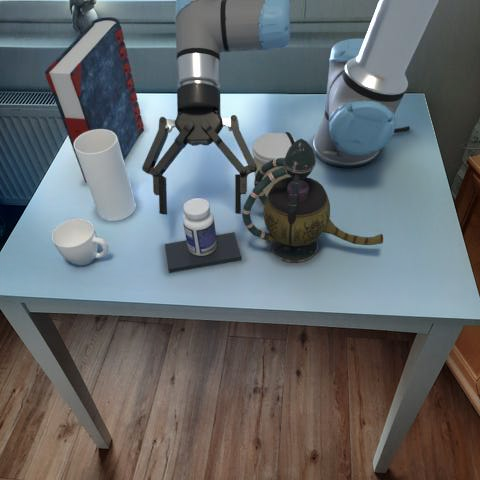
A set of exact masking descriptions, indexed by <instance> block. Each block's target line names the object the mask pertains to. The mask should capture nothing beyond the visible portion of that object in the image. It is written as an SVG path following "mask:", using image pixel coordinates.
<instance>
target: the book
mask: <svg viewBox="0 0 480 480" xmlns="http://www.w3.org/2000/svg"><path fill="white" fill-rule="evenodd" d="M124 40H125V37H124V32H123V29H122V25H121V24H120V20H119V19H118V18H116V17H112V16H107V17H105V16H104V17H100V18H96V19H94V20H92V21H91V23H90V24H89V25H88V26H87V27H86V28H85V29H84V30H83V31H82V33H81V34H79V36H78V37H77V38H76V39H74V41H73V42H72V43H71V44H70V45H69V46H68V47H67V48H66V49H65V50H64V51H63V52H62V53H61V54H60V55H59V56H58V58H56V59H55V60H54V61H53V62H52V63H51V64H50V65H49V66H48V68H47V69H45V71H44V73H45V78H46V81H47V83H48V85H49V88H50V91H51V93H52V95H53V98H54V101H55V103H56V106H57V109H58V111H59V115H60V117H61V120H62V123H63V125H64V128H65V130H66V133H67V136H68V139H69V141H70V144H71V147H72V151H73V153H74V156H75V158H76V160H77V163H78V166H79V169H80V173H81V174H82V177H83V180H84V182H85V184H87V182H86V179H85V176H84V173H83V171H82V168H81V165H80V163H79V160H78V157H77V154H76V152H75V149H74V141H75V139H76V138H77V137H78V136H80V135H81V134H83V133H85V132H87V131H90V130H95V129H106V130H110V131H112V132H114V133H115V134H116V136H117V138H118V142H119V145H120V149H121V152H122V156H123V160H124V161H125V160H126V159H127V157H128V155H129V153H130V152H131V150H132V149H133V147H134V145H135V144H136V142H137V140H138V139H139V138H140V136H141V134H142V133H143V132H144V131H145V129H144V123H143V118H142V114H141V109H140V104H139V102H138V95H137V90H136V88H135V82H134V81H135V80H134V78H133V74H132V68H131V63H130V59H129V58H128V57H129V55H128V50H127V46H126V43H125V41H124Z"/></svg>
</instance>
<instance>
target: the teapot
mask: <svg viewBox="0 0 480 480" xmlns="http://www.w3.org/2000/svg"><path fill="white" fill-rule="evenodd" d="M284 134H286V135H287V136H288V138H289V140H290V142H291V146H290V148H289V150H288V151H287V154H286V157H285V158H277V159H273V160H271V161H269V162H267V163H265V164H264V165H263V166H262V167H261V168H260V169H259V171H258V172H257V174H256V176H255V175H254V181H253V183H254V184H253V185H254V187H253V189H252V190H251V192H250V193H249V195H248V196H247V198H246V200H245V202H244V203H243V207H242V211H241V217H242V220H243V223H244V225H245V227H246V228H247V231H249V232H250V234H252V235H253V236H254V237H256V238H259V239H261V240H264V241H267V242H270V249H271V252H272V254H273V255H274V256H275V258H277V259H278V260H279V261H282V262H284V263H289V264H301V263H306V262H308V261H309V260H311V259H312V258H314V257H315V256H316V254H317V252H318V250H319V249H318V248H319V246H318V245H319V243H318V241H317V239H318V238H320V237H321V235H323V234H325V233H326V234H330V235H333V236H335V237H337V238H338V239H341V240H343V241H346V242H348V243H351V244H353V245H360V246H375V245H381V244H384V235H383V234H382V233H379V234H377V235H374V236H360V235H355V234H351V233H348V232H345V231H344V230H342V229H340V228H339V227H337V226H336V225H335V223H333V221H332V220H331V219H330V218H331V204H330V199H329V197H328V193H327V191H326V189H325V187H324V185H323V184H322V183H320V182H319V181H318V180H315V179H313V178H312V177H309V175H310V174H311V173H312V172H313V170H314V169H315V167H316V162H317V161H316V160H317V159H316V155H315V153H314V151H313V146H311V145H310V143H309V142H308V141H307V140H305V139H303V138H299V139H296V141H295V142H294V139H295V138H294V137H293V135H292V133H290V132H289V131H285V133H284ZM293 138H294V139H293ZM279 166H283V167H282V168H279V169H277V170H275V171H273V172H272V173H270V174H269V175H267V176H266V177H265V178H264V179H263V180H262V178H263V177H264V175H265V174H266V173H267V172H268V171H269V170H270V169H272V168H274V167H279ZM286 174H287V175H290V176H291V177H287V178H284V179H282V180H279V181H278V182H277V183H275V184H274V185H273V187H272V188H271V190H270V192H269V193H268V195H267V196H266V195H265V193H264V191H263V189H265V188H266V187H267V186H268V185H269V184H270V183H271V182H273V181H274V180H276V179H277V178H279V177H281V176H284V175H286ZM257 197H259V199H260V200H261V202H262V203H261V202H260V203H261V204H263V214H262V216H263V221H264V225H265V228H266V230H267V232H266V231H264V230H261V229H259V228H257V226H256V225H255V224H254V223H253V221H252V218H251V211H252V208H253V206H254V203H255V202H256V200H258V198H257Z"/></svg>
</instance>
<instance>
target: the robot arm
mask: <svg viewBox="0 0 480 480" xmlns="http://www.w3.org/2000/svg"><path fill="white" fill-rule="evenodd" d="M439 1H440V0H378V3H377V6H376V8H375V11H374V13H373V16H372V19H371V21H370V24H369V27H368V29H367V31H366V34H365V37H364V38H350V39H345V40H341V41H338V42H337V43H335V44H334V45H333V47H332V48H331V50H330V51H331V52H330V56H329V58H328V61H329V68H328V77H327V85H326V86H327V87H326V96H325V105H324V115H323V117H322V120H321V122H320V124H319V125H318V129H317V130H316V133H315V135H314V138H313V145H312V150H313V152H314V155H315V157H317V159H319V160H320V161H321V162H323V163H325V164H327V165H329V166H333V167H336V168H344V169H354V168H360V167H364V166H367V165H369V164H371V163H372V162H374V161H375V160H376V159H377V157H378V156H379V153H380V150H381V149H383V148H384V147H385V146H386V145H387V144H389V142H390V141H391V139H392V138H393V136H394V134H398V133H399V134H400V133H404V132H408V131H410V129H411V127H410V126H404V127H397V128H396V123H397V120H396V119H397V118H396V112H397V110H398V109H399V106H400V104H401V101H402V100H403V98H404V95H405V93H406V91H407V89H408V86H409V81H408V78H407V76H406V71H407V70H408V67H409V65H410V63H411V60H412V58H413V56H414V54H415V53H416V50H417V48H418V45H419V44H420V41H421V40H422V37H423V35H424V33H425V31H426V29H427V26H428V24H429V23H430V20H431V18H432V16H433V14H434V11H435V9H436V7H437V6H438V4H439ZM174 24H175V48H176V51H175V52H176V86H177V90H176V105H177V108H176V109H177V112H176V117H175V119H170V118H166V117H165V116H160V117H159V119H158V130H157V132H156V134H155V137H154V139H153V142H152V144H151V146H150V148H149V151H148V153H147V155H146V157H145V160H144V162H143V164H142V167H141V169H142V171H143V172H144V173H145V174H147V175H150V176H152V188H153V190H152V191H153V194H154V196H158V208H159V209H158V210H159V214H160V215H162V216H163V215H168V198H167V197H168V195H167V194H168V193H167V192H168V191H167V177H165V176H164V174H165V173H166V171H167V170H168V168H169V167H170V166H171V164H172V163H173V162H174V161H175V159H176V158H177V157H178V156H179V154H180V153H181V152H182V151H183V149H185V147H187V146H188V145H190V146H192V147H196V146H204V147H205V146H206V147H207V146H210V145H212V143H214V145H215V146H216V147H217V148H218V149H219V150H220V152H221V153H222V154H223V155H224V156H225V158H226V159H227V160H228V161H229V162H230V164H231V165H232V166H233V167H234V168H235V170H236V171H237V172H238V174H235V175H234V186H235V187H234V194H235V195H234V204H235V206H234V207H235V209H234V210H235V211H234V213H235V214H236V215H240V214H241V215H242V195H246V194H247V192H248V176H249V175H250V174H253V173H255V172H256V171H257V166H256V163H255V161H254V159H253V154H251V153H252V152H251V151H250V149H249V147H248V145H247V143H246V141H245V139H244V137H243V135H242V132H241V131H240V123H239V118H238V116H237V115H236V114H232V115H230V117H224V118H222V115H221V90H220V89H219V88H220V87H221V53H231V52H245V51H246V52H247V51H272V50H275V49H283V48H286V47H287V46H288V45H289V43H290V41H291V3H290V0H175V16H174ZM224 127H226V129H227V131H229V132H232V134H233V137H234V139H235V141H236V143H237V145H238V147H239V149H240V151H241V154H242V156H243V158H244V160H245V162H246V164H247V165H245V166H244V165H243V163H242V162H241V161H240V160H239V158H238V157H237V156H236V155H235V154H234V153H233V151H232V150H231V149H230V147H229V146H228V145H227V144H226V143H225V141H224V140H223V139H222V138H221V137H220V135H219V134H220V133H221V131H222V129H223V128H224ZM175 128H176V130H177V131H178V135H177V136H176V137H175V139H174V141H173V143H172V144H171V145H170V147H169V148H168V149H167V150H166V152H165V153H164V154H163V156H162V157H161V158H160V159H159V157H160V155H161V152H162V150H163V148H164V145H165V144H166V142H167V141H166V140H167V139H168V136H169V134H170V133H172V131H173V130H174V129H175ZM158 159H159V161H158ZM157 161H158V162H157Z"/></svg>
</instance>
